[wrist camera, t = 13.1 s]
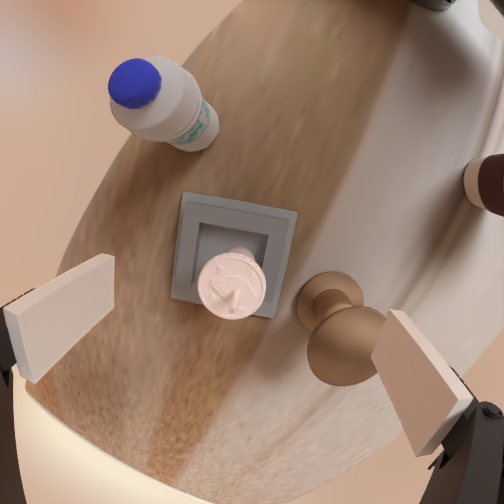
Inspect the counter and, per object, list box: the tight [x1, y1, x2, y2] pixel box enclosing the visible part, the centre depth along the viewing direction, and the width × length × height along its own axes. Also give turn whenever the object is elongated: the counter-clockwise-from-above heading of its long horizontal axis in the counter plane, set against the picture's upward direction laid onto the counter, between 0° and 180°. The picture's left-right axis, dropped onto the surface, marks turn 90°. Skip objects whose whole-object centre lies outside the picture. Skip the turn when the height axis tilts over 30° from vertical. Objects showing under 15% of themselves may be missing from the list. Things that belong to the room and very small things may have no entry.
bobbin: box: [297, 272, 386, 386], centre depth 32 cm, size 9×9×12 cm
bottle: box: [108, 56, 219, 152], centre depth 23 cm, size 7×7×20 cm
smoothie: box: [198, 247, 266, 320], centre depth 29 cm, size 6×6×14 cm
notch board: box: [170, 191, 298, 318], centre depth 35 cm, size 14×14×3 cm
